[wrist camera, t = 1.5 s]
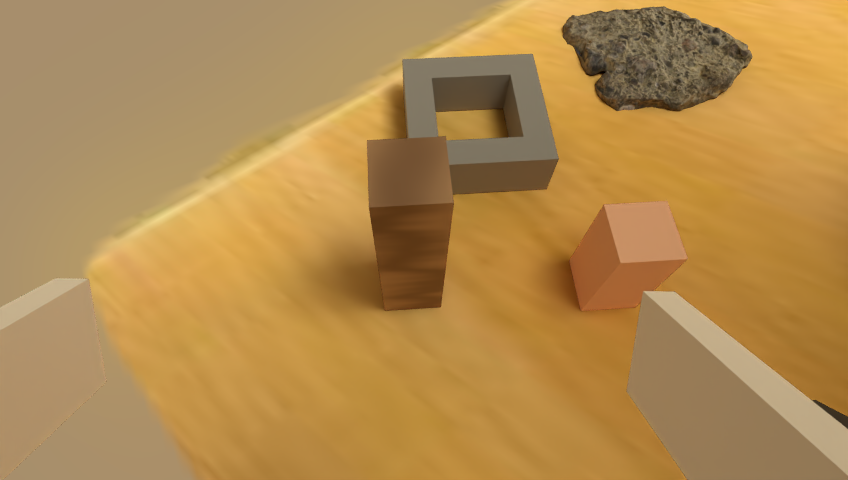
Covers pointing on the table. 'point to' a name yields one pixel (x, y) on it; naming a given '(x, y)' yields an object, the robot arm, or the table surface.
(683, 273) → the table surface
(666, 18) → the stone slab
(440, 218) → the long peg
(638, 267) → the short peg
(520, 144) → the collar
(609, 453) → the table surface
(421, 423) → the table surface
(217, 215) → the table surface
